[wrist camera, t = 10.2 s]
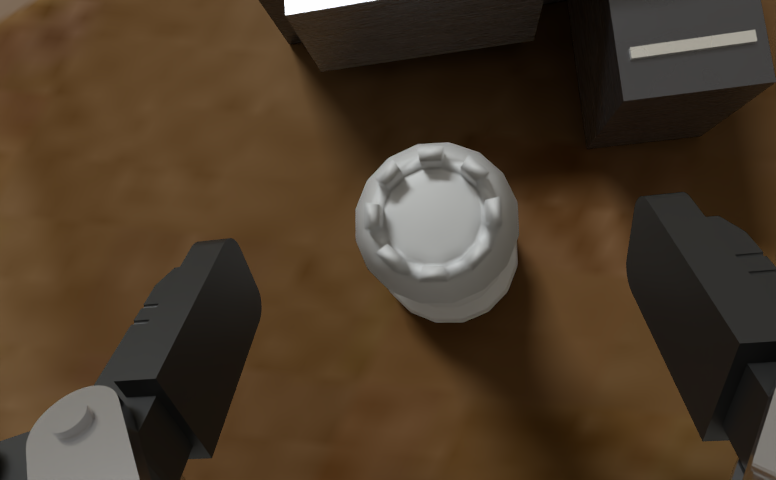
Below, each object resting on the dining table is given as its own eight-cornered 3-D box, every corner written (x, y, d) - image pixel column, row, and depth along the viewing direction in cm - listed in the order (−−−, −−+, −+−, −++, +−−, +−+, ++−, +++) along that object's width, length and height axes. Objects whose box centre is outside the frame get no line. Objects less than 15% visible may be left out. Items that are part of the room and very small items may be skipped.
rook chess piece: (464, 165, 17) (460, 47, 9) (545, 272, 16) (616, 241, 8) (358, 240, 17) (268, 187, 10) (432, 350, 17) (400, 389, 9)
